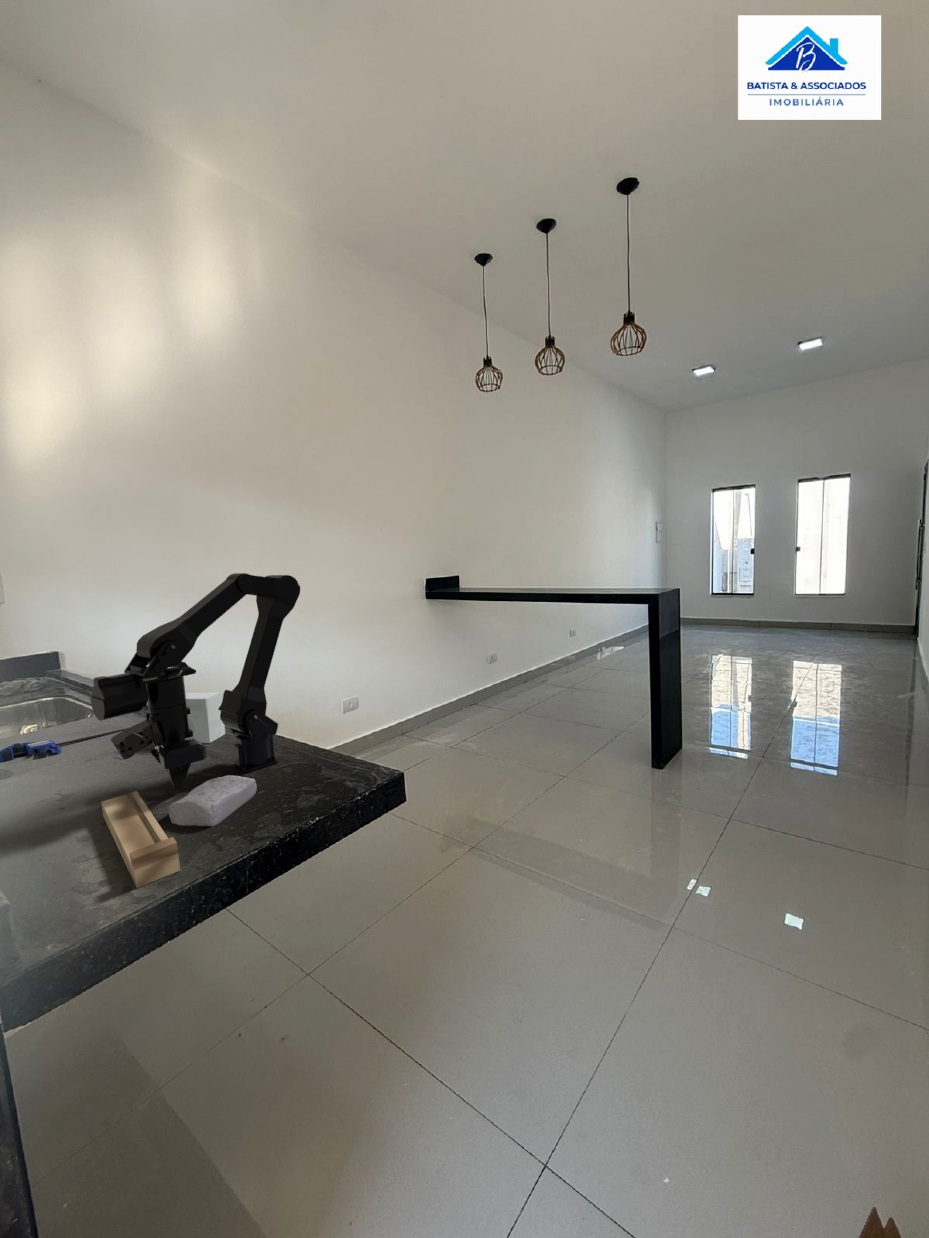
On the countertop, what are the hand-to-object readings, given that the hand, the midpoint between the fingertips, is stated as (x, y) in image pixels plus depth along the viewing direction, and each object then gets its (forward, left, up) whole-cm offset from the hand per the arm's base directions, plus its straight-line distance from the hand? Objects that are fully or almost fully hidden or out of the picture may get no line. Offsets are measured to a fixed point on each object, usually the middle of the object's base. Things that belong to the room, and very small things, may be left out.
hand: (177, 788), depth 89 cm
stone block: (-3, +10, -2) cm, 10 cm away
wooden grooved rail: (+8, +12, -1) cm, 15 cm away
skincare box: (-11, -28, -1) cm, 31 cm away
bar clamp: (+7, -48, -2) cm, 49 cm away
